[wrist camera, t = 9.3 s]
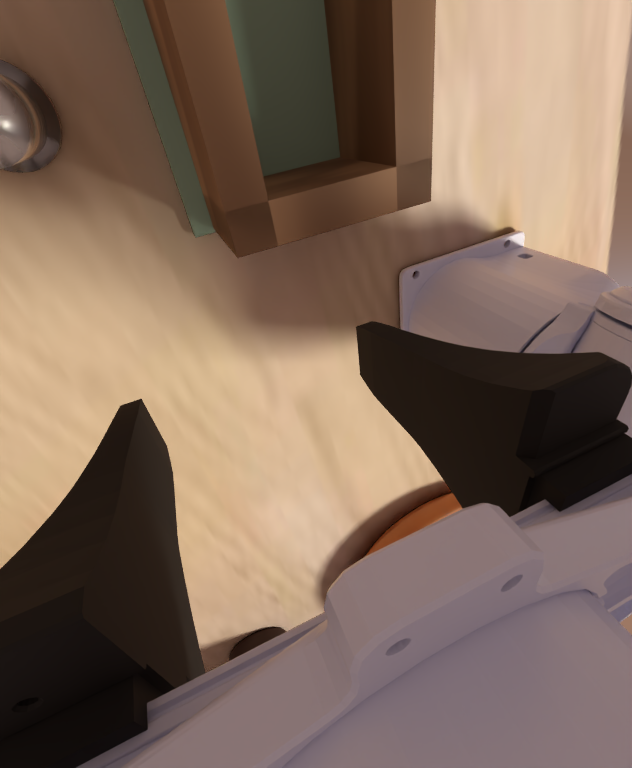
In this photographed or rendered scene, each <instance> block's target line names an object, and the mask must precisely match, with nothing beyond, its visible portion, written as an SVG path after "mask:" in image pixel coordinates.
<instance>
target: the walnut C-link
mask: <svg viewBox="0 0 632 768" xmlns="http://www.w3.org/2000/svg"><path fill="white" fill-rule="evenodd" d="M143 3H144V6H145V10H146V13H147V16H148V19H149V22H150V26H151V29H152V32H153V35H154V38H155V42H156V45H157V48H158V51H159V54H160V58H161V61H162V64H163V67H164V71H165V74H166V77H167V80H168V83H169V87H170V90H171V93H172V96H173V99H174V103H175V106H176V109H177V112H178V115H179V119H180V122H181V125H182V128H183V132H184V135H185V138H186V141H187V144H188V148H189V151H190V154H191V157H192V160H193V164H194V167H195V170H196V173H197V176H198V180H199V183H200V186H201V189H202V193H203V196H204V199H205V202H206V205H207V209H208V212H209V215H210V218H211V221H212V225H213V228H214V230H215V231H216V232H217V233H218V234H219V236H220V237H221V238H222V239H223V241H224V242H225V243H226V244H227V245H228V247H229V248H230V249H231V250H232V251H233V253H234V254H235V255H236V256H237V258H239V257H243V256H246V255H250V254H253V253H256V252H260V251H263V250H267V249H270V248H273V247H277V246H280V245H284V244H287V243H290V242H294V241H297V240H301V239H304V238H307V237H311V236H314V235H317V234H321V233H324V232H328V231H331V230H334V229H338V228H341V227H345V226H348V225H351V224H355V223H358V222H362V221H365V220H368V219H372V218H375V217H379V216H382V215H385V214H389V213H392V212H395V211H399V210H402V209H406V208H409V207H412V206H416V205H419V204H423V203H426V202H429V201H431V175H432V133H433V92H434V50H435V9H436V0H324V6H325V15H326V25H327V35H328V44H329V54H330V64H331V73H332V83H333V92H334V102H335V112H336V121H337V131H338V141H339V150H340V157H339V158H335V159H331V160H327V161H323V162H319V163H315V164H311V165H307V166H303V167H299V168H295V169H291V170H287V171H283V172H279V173H275V174H271V175H267V176H263V173H262V169H261V164H260V159H259V155H258V150H257V146H256V141H255V136H254V132H253V127H252V123H251V118H250V113H249V109H248V104H247V100H246V95H245V90H244V86H243V81H242V77H241V72H240V67H239V63H238V58H237V54H236V49H235V44H234V40H233V35H232V31H231V26H230V21H229V17H228V12H227V8H226V3H225V0H143Z"/></svg>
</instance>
